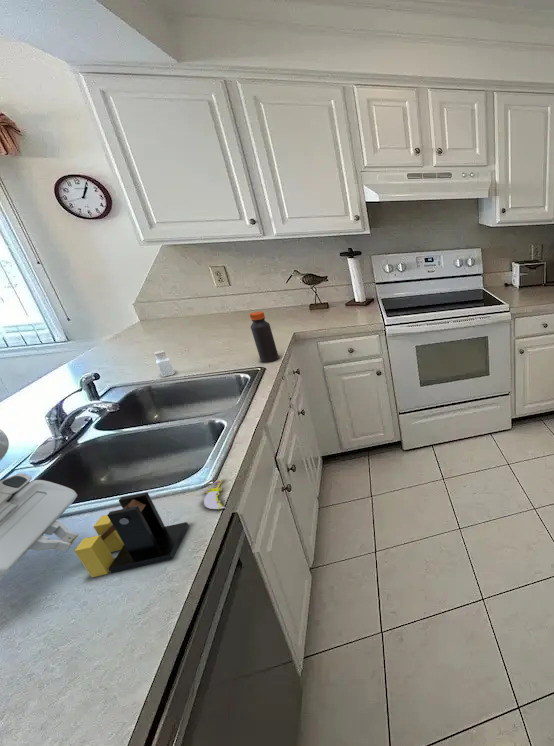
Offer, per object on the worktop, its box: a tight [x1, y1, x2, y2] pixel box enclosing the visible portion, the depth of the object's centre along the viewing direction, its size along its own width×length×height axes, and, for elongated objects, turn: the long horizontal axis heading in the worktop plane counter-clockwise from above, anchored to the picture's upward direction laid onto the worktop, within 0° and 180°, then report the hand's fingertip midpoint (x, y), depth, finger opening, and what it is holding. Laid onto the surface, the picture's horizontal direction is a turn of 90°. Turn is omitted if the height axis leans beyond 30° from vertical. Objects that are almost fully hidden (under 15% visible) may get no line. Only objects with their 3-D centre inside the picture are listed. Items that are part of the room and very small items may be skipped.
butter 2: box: [74, 534, 115, 578], centre depth 77 cm, size 2×3×7 cm
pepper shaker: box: [153, 350, 176, 378], centre depth 158 cm, size 4×4×10 cm
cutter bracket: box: [106, 491, 190, 574], centre depth 80 cm, size 10×9×12 cm
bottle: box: [249, 310, 280, 363], centre depth 167 cm, size 7×7×20 cm
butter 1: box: [92, 514, 124, 553], centre depth 82 cm, size 2×3×7 cm
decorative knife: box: [203, 479, 227, 510], centre depth 96 cm, size 12×1×5 cm
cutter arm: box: [100, 499, 146, 541], centre depth 79 cm, size 15×3×3 cm
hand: (72, 543), depth 77 cm, fingers closed
